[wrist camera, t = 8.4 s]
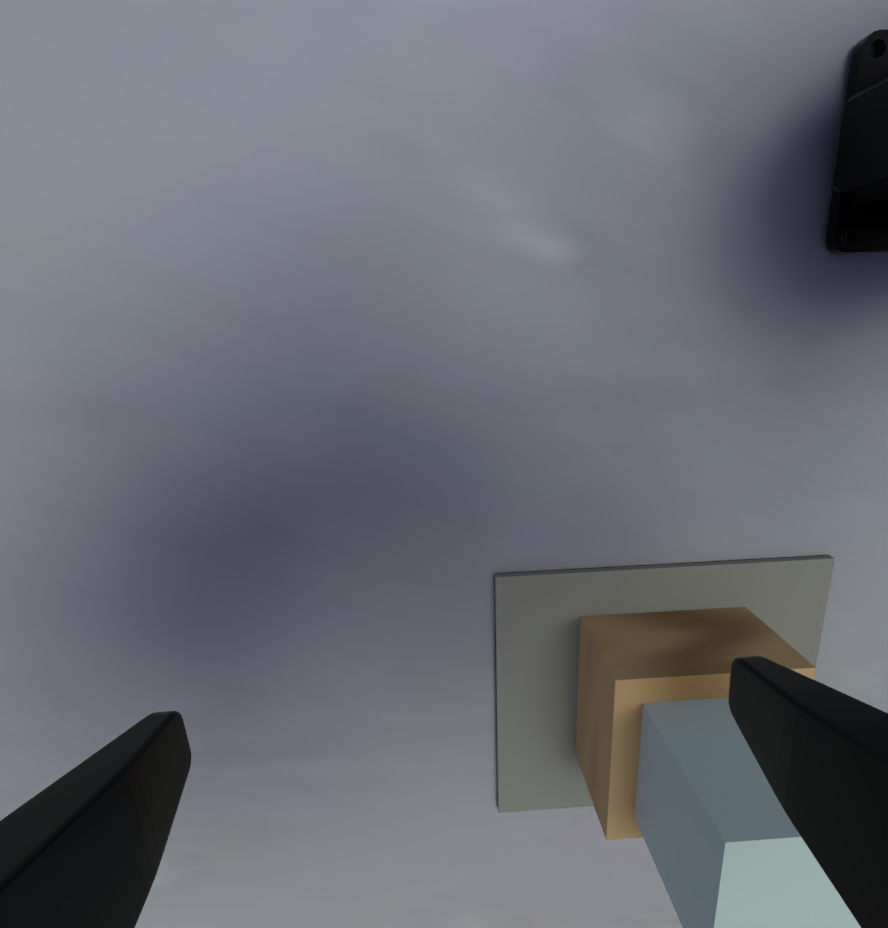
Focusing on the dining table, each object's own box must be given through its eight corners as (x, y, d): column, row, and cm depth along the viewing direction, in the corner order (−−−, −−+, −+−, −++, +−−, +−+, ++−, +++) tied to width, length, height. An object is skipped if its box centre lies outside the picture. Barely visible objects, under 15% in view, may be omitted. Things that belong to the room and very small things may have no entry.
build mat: (828, 555, 22) (834, 558, 21) (789, 785, 25) (793, 791, 25) (494, 573, 21) (495, 577, 21) (497, 806, 24) (498, 812, 24)
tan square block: (745, 606, 22) (815, 667, 18) (727, 743, 24) (788, 826, 20) (580, 616, 22) (615, 680, 18) (575, 754, 23) (606, 839, 19)
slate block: (784, 693, 18) (916, 828, 13) (766, 807, 19) (880, 966, 15) (643, 703, 18) (725, 842, 13) (634, 816, 19) (706, 981, 14)
